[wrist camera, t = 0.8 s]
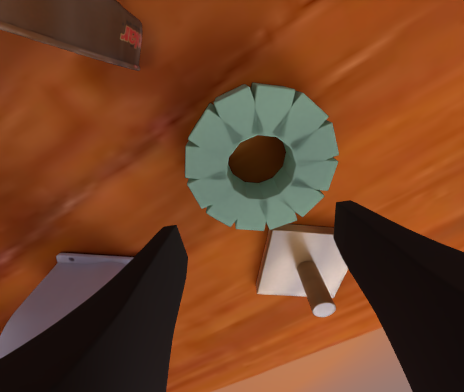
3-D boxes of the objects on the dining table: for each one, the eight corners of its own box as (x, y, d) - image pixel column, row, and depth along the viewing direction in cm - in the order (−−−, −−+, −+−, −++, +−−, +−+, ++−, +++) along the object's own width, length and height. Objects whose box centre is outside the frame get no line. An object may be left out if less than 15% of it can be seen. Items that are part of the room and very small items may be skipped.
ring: (189, 206, 21) (184, 225, 18) (192, 74, 16) (186, 75, 13) (302, 215, 22) (312, 234, 19) (340, 93, 17) (361, 97, 14)
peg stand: (255, 285, 26) (263, 338, 21) (270, 222, 22) (284, 269, 17) (329, 289, 27) (354, 341, 22) (357, 229, 23) (397, 276, 18)
